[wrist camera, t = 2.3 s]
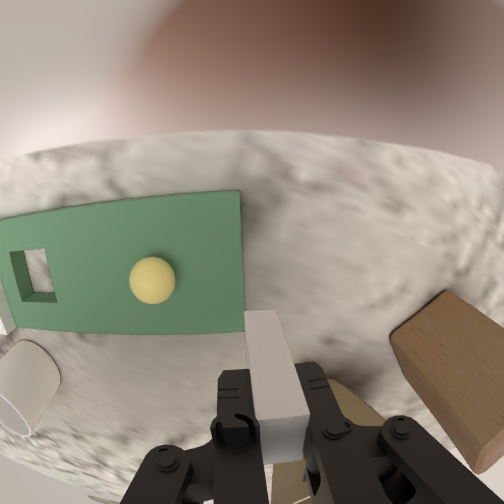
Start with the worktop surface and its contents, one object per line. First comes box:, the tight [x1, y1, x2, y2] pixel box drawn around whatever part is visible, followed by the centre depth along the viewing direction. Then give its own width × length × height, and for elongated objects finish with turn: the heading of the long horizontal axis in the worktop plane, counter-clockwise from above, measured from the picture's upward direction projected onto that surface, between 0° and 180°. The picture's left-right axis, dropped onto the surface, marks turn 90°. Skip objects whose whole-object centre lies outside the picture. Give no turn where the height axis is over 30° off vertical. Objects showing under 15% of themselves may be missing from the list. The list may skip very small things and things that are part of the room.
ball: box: [129, 257, 175, 304], centre depth 20 cm, size 4×4×4 cm
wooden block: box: [391, 291, 504, 475], centre depth 21 cm, size 10×10×20 cm
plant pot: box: [271, 378, 386, 504], centre depth 23 cm, size 15×15×16 cm
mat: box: [0, 190, 245, 335], centre depth 22 cm, size 28×12×4 cm, turn 92°
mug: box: [0, 341, 60, 437], centre depth 22 cm, size 12×8×10 cm
